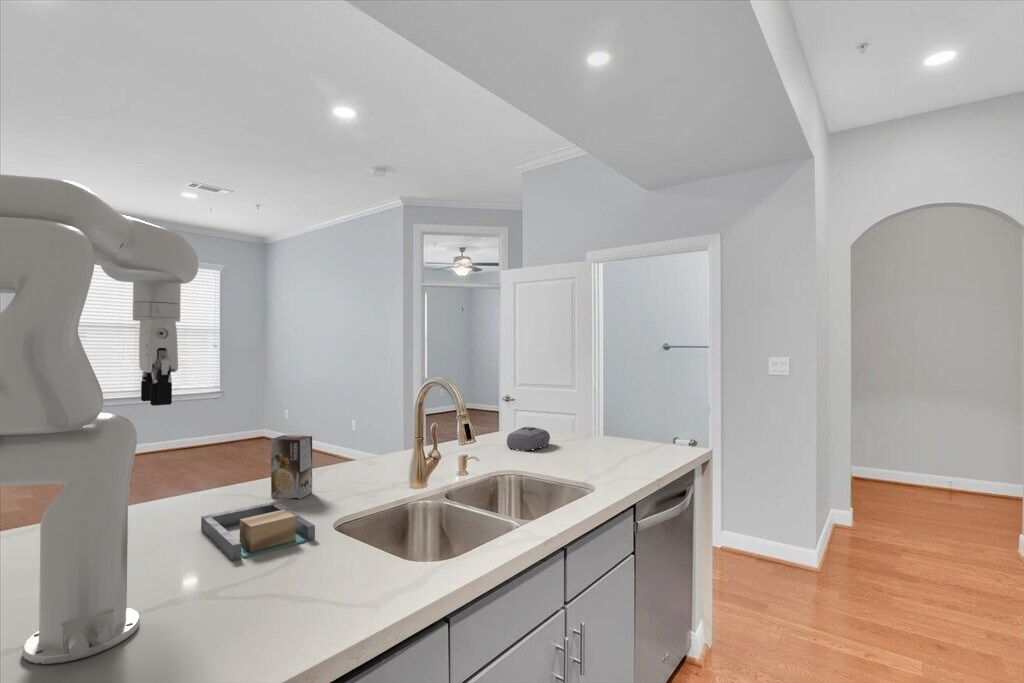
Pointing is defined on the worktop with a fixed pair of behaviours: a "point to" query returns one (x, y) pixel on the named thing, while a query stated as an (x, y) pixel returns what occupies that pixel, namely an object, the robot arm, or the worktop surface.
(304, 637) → the worktop surface
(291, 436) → the coffee box
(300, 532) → the bay
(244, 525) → the tan cardboard box
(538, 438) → the grey rounded bag
